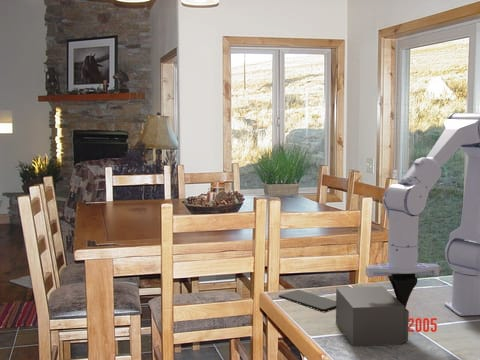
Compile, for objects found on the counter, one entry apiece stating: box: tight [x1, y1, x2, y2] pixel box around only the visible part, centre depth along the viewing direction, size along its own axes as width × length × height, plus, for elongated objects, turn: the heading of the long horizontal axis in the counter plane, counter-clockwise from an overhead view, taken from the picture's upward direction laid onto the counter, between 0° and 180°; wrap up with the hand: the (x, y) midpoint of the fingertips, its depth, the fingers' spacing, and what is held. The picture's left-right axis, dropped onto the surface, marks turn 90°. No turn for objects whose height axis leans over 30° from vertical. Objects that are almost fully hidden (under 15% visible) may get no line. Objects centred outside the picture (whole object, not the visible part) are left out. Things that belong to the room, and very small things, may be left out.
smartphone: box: [278, 289, 336, 312], centre depth 138 cm, size 7×1×15 cm
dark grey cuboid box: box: [335, 286, 405, 347], centre depth 117 cm, size 10×13×8 cm
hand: (401, 310), depth 118 cm, fingers closed
